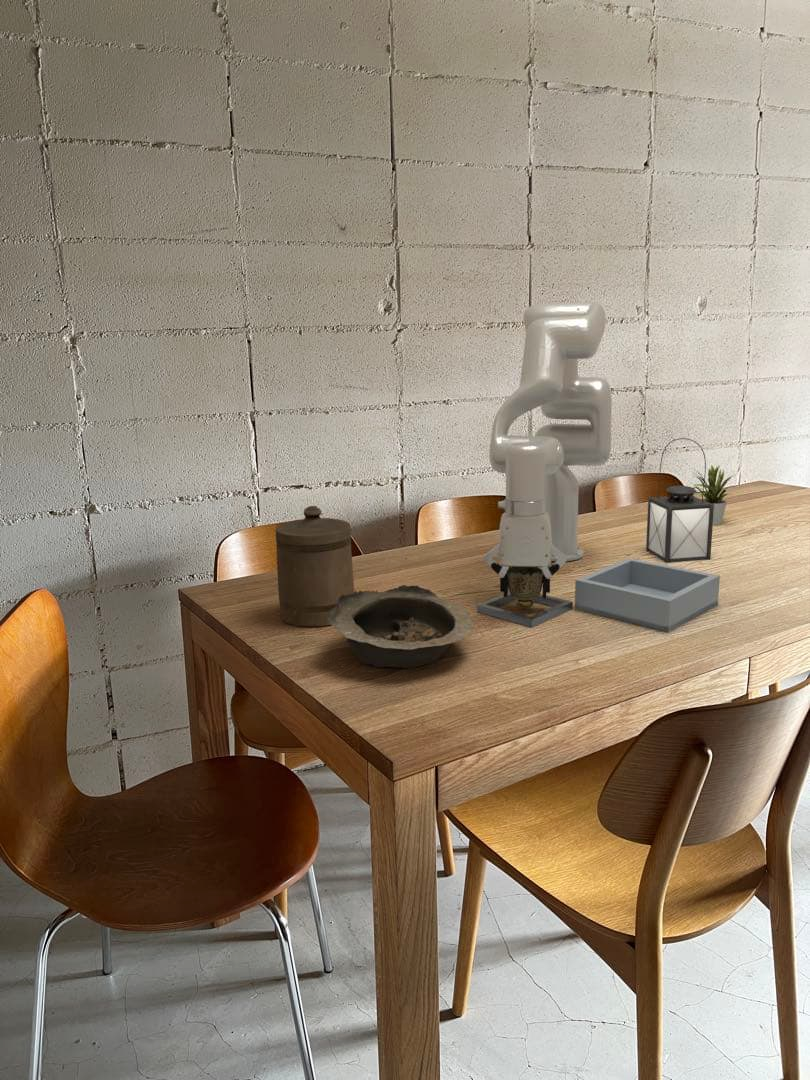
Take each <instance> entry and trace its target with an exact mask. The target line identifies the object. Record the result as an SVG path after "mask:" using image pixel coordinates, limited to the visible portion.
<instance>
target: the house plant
mask: <svg viewBox="0 0 810 1080" xmlns="http://www.w3.org/2000/svg"><path fill="white" fill-rule="evenodd" d="M689 469H691V470H694V471H696V472H694V473H697V474H694V473H693V476H692V478H696V479H698V480H699V481H700V482H701V483H696V484H695V483H692V486H694V487H693V488H694V489H697V493H694V495H695V496H696V495H698V494H700V496H702V493H703V497H704V498H703V500H704V501H706V502H709V503H711V504H714V512H713V526H716V527H717V526H722V523H723V518H724V515H725V510H726V508H727V507H726V506H727V501H726V500H725V499H724V498H725V497H726V496H727V495H729V493H727V492H726V491H727V489H730V488H737V486H734V485H730V486H728V487H726V488H724V487H725V486H726V484H727V483H728V482H729V481H730V480H731V479H732V478H733V477H735V476H736V475H735V474H733V475H731V476H730V477H727V478H726V479H725V480H724V477H725V471H724V469H723V470H722V469H721V467H720V465H719V466H716V467H714V466H713V465H710V468H709V469H708V473H707V477H708V478H707V482H708V483H707V482H706V481H705V484H704V476H703V475H702V473H700V471H698V470H697V469H695V468H690V467H689ZM698 474H699V475H700V476H699V475H698ZM694 475H695V476H694ZM723 480H724V481H723ZM689 484H690V485H691V483H689ZM703 484H704V492H703V488H702V487H703ZM730 495H731V496H733V495H732V493H730Z"/></svg>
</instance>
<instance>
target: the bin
mask: <svg viewBox="0 0 810 1080" xmlns="http://www.w3.org/2000/svg"><path fill="white" fill-rule="evenodd" d="M720 579H721V576H720V575H718V574H714V573H709V572H704V571H703V572H702V571H698V570H692V569H687V568H682V567H676V566H672V565H667V564H661V563H657V562H650V561H646V560H641V559H635V558H630V557H628V558H625V559H623V560H621V561H618V562H616V563H613V564H610V565H608V566H606V567H604V568H602V569H599V570H596V571H594V572H591V573H590V574H587V575H583V576H581V577H579V578H576V579H575V582H574V583H575V587H574V591H575V592H574V610H577V611H581V612H585V613H590V614H594V615H597V616H600V617H605V618H610V619H613V620H616V621H617V620H618V621H621V622H626V623H629V624H633V625H636V626H640V627H645V628H649V629H653V630H656V631H662V632H665V633H670V632H672V631H674V630H676V629H677V628H679V627H681V626H682V625H685V624H686V623H688V622H690V621H691V620H693V619H695V618H697V617H699V616H700V615H702V614H705V612H707V611H710V610H711V609H713V608H714V607H716V606H718V605H719V595H720V594H719V593H720Z"/></svg>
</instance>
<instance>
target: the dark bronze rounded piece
mask: <svg viewBox="0 0 810 1080" xmlns="http://www.w3.org/2000/svg"><path fill="white" fill-rule="evenodd" d="M506 573H507V581H508V592H510V594H511V595H512V596H513V597H514V598H515V604H516V606H517V607H519V608H522V609H523V608H524V609H528V608H532V607H533V606H534V604H535V602H534V599H535V598H537V597H538V596H539V594H541V592H542V590H543V576H544V573H543V570H542V569H541V567H509V569H508V570H507V572H506Z"/></svg>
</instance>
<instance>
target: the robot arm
mask: <svg viewBox="0 0 810 1080" xmlns="http://www.w3.org/2000/svg"><path fill="white" fill-rule="evenodd" d="M606 320H607V319H606V312H605V309H604V307H603V305H601V304H600V303H599V302H594V301H580V302H579V301H578V302H576V301H575V302H573V301H572V302H546V303H545V302H544V303H538V304H534V305H530V306H529V307H527V308H526V309H525V310H524V313H523V326H524V329H525V339H524V340H525V341H524V347H523V355H522V365H521V372H520V382H519V386H518V388H517V389H516V390H515V391H514V392H513V393H511V395H509V396H508V397H507V399H506V400H505V401H504V402H503V403H502V405H501V406H500V407H499V409H498V411H497V413H496V415H495V417H494V419H493V424H492V428H491V435H490V441H489V442H490V443H489V455H488V456H489V463H490V465H491V467H492V469H493V470H494V471H495V472H498V473H501V474H505V498H504V499H503V500H502V501H500V500H498V501H497V502H498V503H497V504H498V505H497V508H498V509H502V510H504V511H505V512H504V513H502V514H501V518H500V523H499V530H498V532H499V534H498V543H497V545H495V546H493V548H491V549H490V550H489V551H488V552H486V553H485V554H484V555H483V559H484V561H485V562H486V563H487V564H488V565H489V566H490V568H491V569H492V570H493V571H494V572H495V573H496V574H497V575H498V577H499V578H500V579H499V580H500V582H499V587H500V588H499V589H500V590H499V592H501V593H502V592H503V594H504V597H507V595H508V592H509V588H508V581H507V573H506V572H507V570H508V569H509V567H511V568H512V567H538V568H540V569H542V570H543V573H544V576H543V583H542V594H543V597H544V598H546V595H547V594H550V593H551V590H550V589H551V578H552V576H553V575H555V574H556V573H557V572H558V571H559V570H560V569H561V568H562V567H563V566H564V564H566V562H571V561H578V560H580V559H581V558H583V557H584V553H585V552H584V549H583V548H581V547H579V546H578V526H579V525H578V524H579V523H578V521H579V519H578V518H579V492H580V491H579V490H580V489H579V482H578V478H576V476H575V474H574V473H573V472H572V470H571V468H570V466H573V467H574V466H580V467H581V466H582V467H583V466H584V467H585V466H586V467H590V466H591V467H599V466H603V465H605V464H606V463H607V462H608V461H609V460H610V456H611V451H612V406H613V405H612V403H613V402H612V400H613V399H612V391H611V386H610V383H609V382H608V380H606V379H604V378H603V377H602V378H601V377H598V376H597V377H596V376H595V377H593V376H590V377H589V376H588V377H587V376H579V374H578V373H579V370H578V369H579V368H578V367H579V366H578V365H579V360H586V359H592V358H593V357H594V356H595V355H596V353H597V352H598V349H599V346H600V343H601V342H602V338H603V336H604V332H605V329H606V323H607V322H606ZM539 407H540V408H541V409H540V410H541V412H542V415H543V416H544V417H546V418H548V419H553V420H574V421H575V420H576V421H577V420H582V421H583V420H584V421H585V420H586V421H588V422H589V424H583V423H582V424H579V423H577V424H576V423H575V424H574V423H554V424H553V423H552V424H547V425H544V426H541V427H540V428H539V429H538V430H537V431H536V432H535V435H508V433H509V430H510V429H511V428H510V427H511V426H512V425H513V423H514V422H515V421H516V420H517V419H518V418H519V417H521V416H522V415H524V414H525V413H528V412H530V411H532V410H534V409H537V408H539ZM496 555H498V562H499V563H498V562H497V561H496V560H495V559H494V557H496ZM552 562H554V563H552ZM551 563H552V564H551Z"/></svg>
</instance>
